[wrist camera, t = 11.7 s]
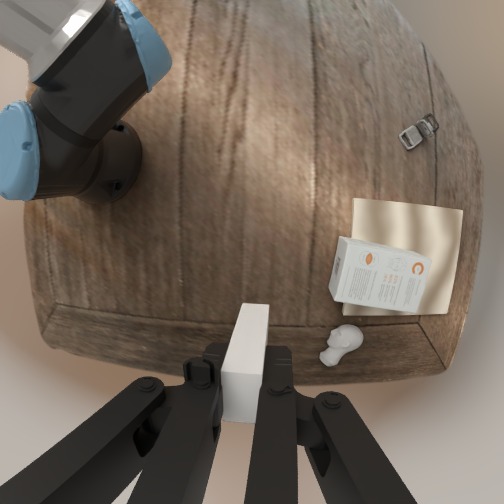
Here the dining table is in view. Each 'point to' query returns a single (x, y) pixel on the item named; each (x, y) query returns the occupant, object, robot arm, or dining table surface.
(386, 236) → the birch board
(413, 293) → the small box
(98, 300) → the dining table surface
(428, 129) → the strap clip
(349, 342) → the smooth white sculpture
